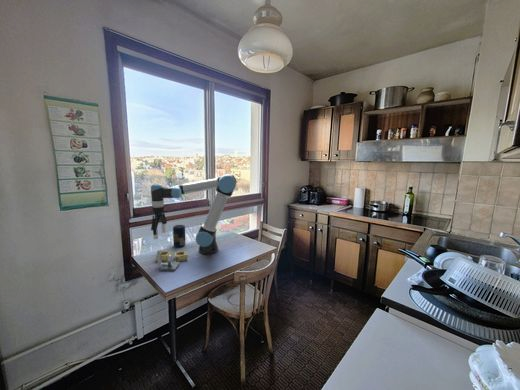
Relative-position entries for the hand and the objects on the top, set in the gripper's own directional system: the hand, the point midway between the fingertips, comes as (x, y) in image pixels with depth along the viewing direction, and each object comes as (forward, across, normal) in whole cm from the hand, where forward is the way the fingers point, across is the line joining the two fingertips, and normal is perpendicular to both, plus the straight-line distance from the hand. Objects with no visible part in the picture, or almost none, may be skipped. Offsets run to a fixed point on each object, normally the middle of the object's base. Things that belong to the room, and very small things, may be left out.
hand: (160, 235), depth 158 cm
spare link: (+18, 0, +14) cm, 22 cm away
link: (+17, 0, +2) cm, 18 cm away
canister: (+18, -25, +5) cm, 31 cm away
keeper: (+17, +13, +10) cm, 24 cm away
